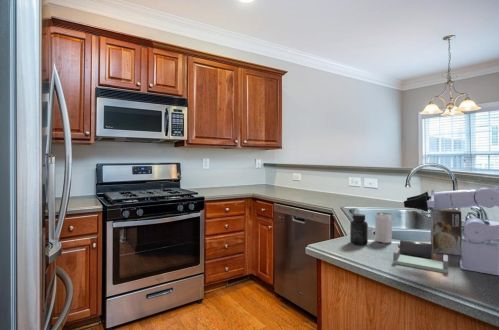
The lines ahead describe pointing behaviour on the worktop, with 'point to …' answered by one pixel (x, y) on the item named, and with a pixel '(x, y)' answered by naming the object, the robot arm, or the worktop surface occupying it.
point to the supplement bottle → (359, 230)
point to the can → (383, 227)
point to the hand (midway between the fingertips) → (405, 202)
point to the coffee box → (446, 231)
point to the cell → (415, 248)
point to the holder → (421, 262)
